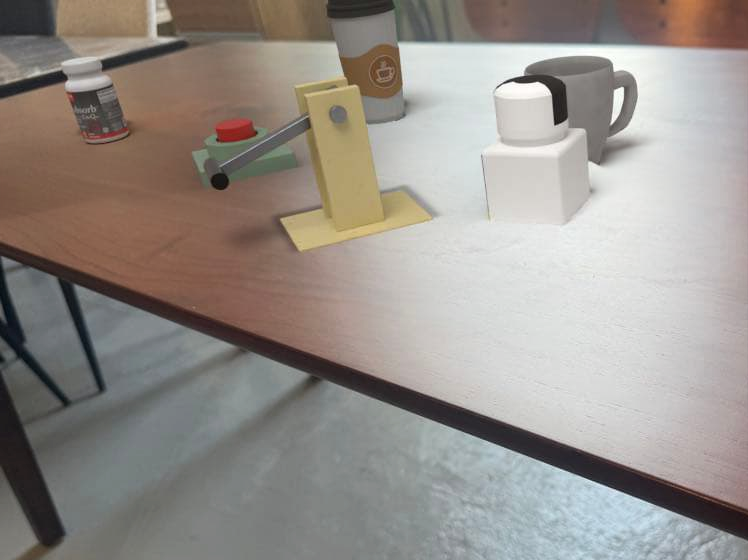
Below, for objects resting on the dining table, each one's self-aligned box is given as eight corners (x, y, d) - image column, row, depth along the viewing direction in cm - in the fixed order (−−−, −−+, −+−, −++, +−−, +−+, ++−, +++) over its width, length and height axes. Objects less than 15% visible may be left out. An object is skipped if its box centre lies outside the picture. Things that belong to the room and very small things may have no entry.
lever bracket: (302, 263, 73) (262, 110, 66) (282, 230, 80) (244, 89, 73) (434, 230, 77) (410, 82, 70) (404, 201, 84) (379, 64, 77)
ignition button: (221, 147, 93) (217, 131, 92) (217, 138, 96) (212, 123, 95) (259, 139, 94) (254, 123, 93) (253, 131, 97) (248, 116, 96)
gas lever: (221, 198, 70) (203, 173, 69) (213, 182, 74) (196, 157, 73) (359, 118, 72) (344, 92, 70) (344, 106, 76) (330, 81, 74)
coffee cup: (366, 131, 107) (340, -1, 98) (338, 119, 113) (311, -6, 104) (424, 115, 111) (404, -13, 102) (394, 105, 116) (372, -17, 108)
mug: (555, 183, 85) (547, 81, 79) (518, 161, 91) (508, 66, 86) (659, 157, 88) (658, 58, 83) (616, 138, 95) (613, 45, 90)
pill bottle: (75, 144, 114) (45, 66, 109) (106, 131, 118) (78, 55, 113) (109, 145, 112) (80, 65, 107) (139, 131, 117) (112, 54, 111)
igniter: (206, 192, 92) (194, 155, 90) (196, 170, 99) (186, 135, 97) (298, 172, 95) (289, 135, 93) (283, 152, 102) (274, 118, 100)
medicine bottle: (520, 202, 81) (506, 69, 75) (591, 206, 79) (584, 68, 72) (489, 231, 76) (471, 91, 69) (565, 236, 73) (554, 91, 67)
